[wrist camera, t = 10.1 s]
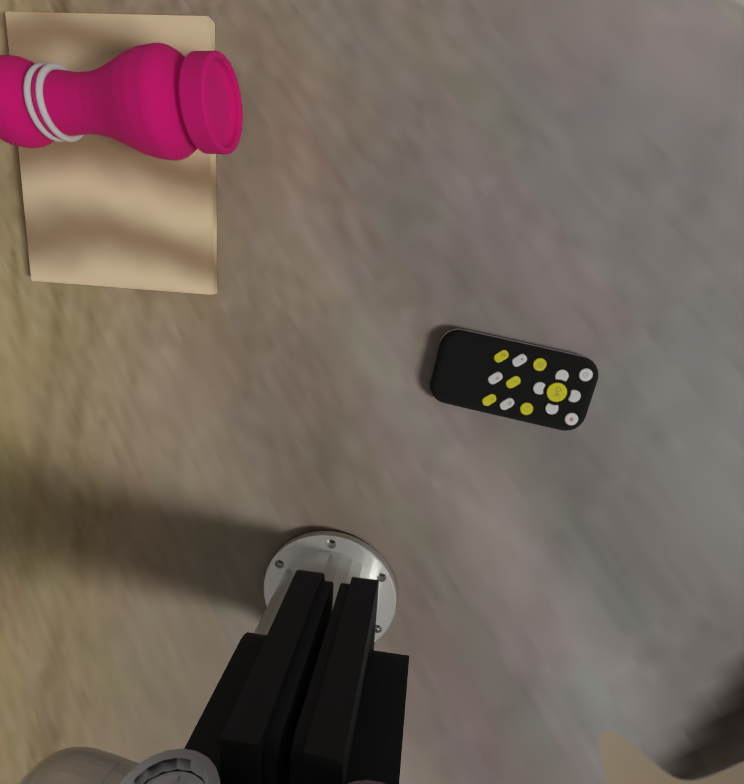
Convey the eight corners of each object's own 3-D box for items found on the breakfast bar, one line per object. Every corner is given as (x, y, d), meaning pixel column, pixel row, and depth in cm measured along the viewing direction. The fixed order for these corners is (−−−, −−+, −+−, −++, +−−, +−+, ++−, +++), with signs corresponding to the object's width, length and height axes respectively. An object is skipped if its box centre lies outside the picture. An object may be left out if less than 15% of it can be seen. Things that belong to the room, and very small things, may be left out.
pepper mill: (210, 169, 36) (-50, 162, 39) (251, 154, 42) (23, 149, 45) (191, 39, 32) (-95, 43, 35) (238, 43, 38) (-9, 46, 41)
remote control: (443, 323, 44) (443, 326, 42) (599, 358, 43) (606, 363, 42) (426, 394, 46) (425, 400, 44) (575, 429, 45) (581, 437, 43)
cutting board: (217, 293, 46) (211, 294, 44) (41, 279, 47) (31, 280, 46) (214, 22, 40) (207, 16, 39) (17, 18, 42) (5, 11, 41)
